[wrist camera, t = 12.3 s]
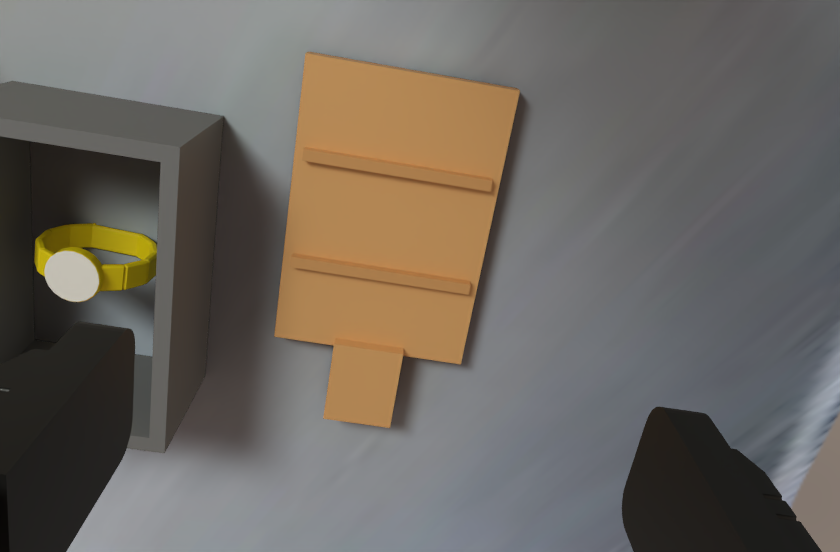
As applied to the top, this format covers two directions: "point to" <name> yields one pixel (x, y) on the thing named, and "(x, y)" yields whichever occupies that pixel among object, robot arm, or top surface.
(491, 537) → the top surface
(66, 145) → the tub
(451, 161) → the wooden paddle board
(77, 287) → the watch
